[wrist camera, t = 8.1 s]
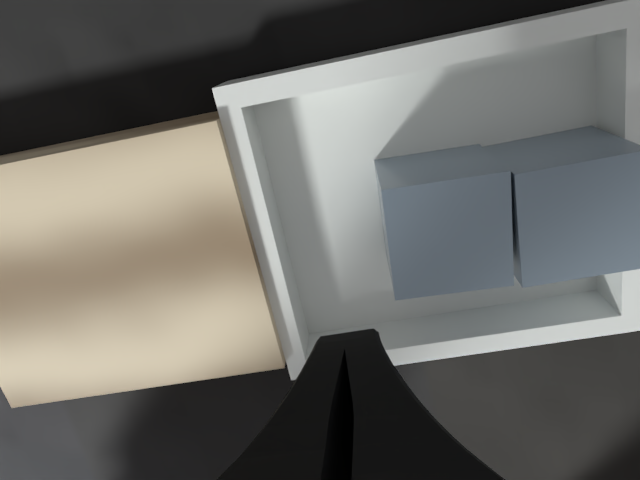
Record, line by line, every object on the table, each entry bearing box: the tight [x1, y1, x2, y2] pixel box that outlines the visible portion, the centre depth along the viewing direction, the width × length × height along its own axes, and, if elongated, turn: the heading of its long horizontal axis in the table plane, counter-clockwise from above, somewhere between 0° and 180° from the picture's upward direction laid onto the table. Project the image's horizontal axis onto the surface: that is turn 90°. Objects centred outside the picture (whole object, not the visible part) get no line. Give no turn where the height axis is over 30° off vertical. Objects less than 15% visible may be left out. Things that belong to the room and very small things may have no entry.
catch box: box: [212, 0, 640, 380], centre depth 20 cm, size 12×14×2 cm
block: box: [483, 126, 640, 288], centre depth 18 cm, size 4×4×4 cm
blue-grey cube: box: [374, 144, 514, 300], centre depth 19 cm, size 4×4×4 cm
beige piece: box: [0, 111, 286, 408], centre depth 21 cm, size 10×12×3 cm
